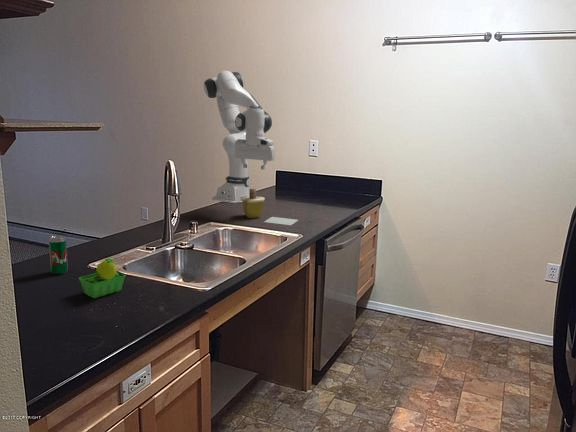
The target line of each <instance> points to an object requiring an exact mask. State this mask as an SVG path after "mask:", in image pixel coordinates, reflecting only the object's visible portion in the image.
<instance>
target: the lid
mask: <svg viewBox="0 0 576 432" xmlns="http://www.w3.org/2000/svg"><path fill="white" fill-rule="evenodd" d="M265 199H266V198H265V197H263V196H259V195H257V189H256V188H250V189H249V196H243V197H241V199H240V200H241V201H243V202H250V203H258V202H263V201H264V202H265ZM243 202H242V203H243Z"/></svg>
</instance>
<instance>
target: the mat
mask: <svg viewBox="0 0 576 432" xmlns="http://www.w3.org/2000/svg"><path fill="white" fill-rule="evenodd" d="M298 221H299V219H293V218H285V217H278V216H271V217H269V218H267V219H266V220H265V221H263V223H267V224H277V225H286V226H292V225H294V224H295V223H297V222H298Z"/></svg>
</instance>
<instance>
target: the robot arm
mask: <svg viewBox="0 0 576 432" xmlns="http://www.w3.org/2000/svg"><path fill="white" fill-rule="evenodd" d="M203 91H204V93H205V95H206V96H207V97H208V98H209V99H216V102H217V103H216V104H217V108H218V112H219V115H220V118H221V122H222V124H223V127H224V128H226V130H227V131H228V132H229V134H228V135H226V136H224V138H223V140H222V147H223V149H224V151H225V152H226V154H227V158H228V167H229V169H228V171H229V172H228V173H229V175H228V176H226V177H225V178H224V179H225V181H226V182H225V183H223V184H222V185H221V186H219V187H218V188H217V190H216V192H215V195H214V196H213V197H211V198H212V199H211V200H212V201H218V202H223V203H224V202H225V203H230V204H236V203H243V201H241V200H240V199H241V197H243V196H249V193H250V189H249V187H250V176H249V166H250V165H249V162H248V160H255V161H262V163H263V165H261V166H260V170H261V171H264V170H265V169H266V166H267V163H268V162H273V161H275V159H276V154H275V147H274V146H273V144H274V140H273V139H270V138H268V137H266V136H265V134H266V133H267V132H269V130H271V127H272V126H273V124H272V123H273V121H272V118H271V115H270V114H269V113H268V112H267V111H265V110H264V108H263V107H262V106H261V105H260V103H259V102H258V101H257V99H256V98H255V97H254V96H253V94H252V93H250V92H248V91H247V90H245V88H244V79H243V76H242V75H241V73H240V72H239V71H232V72H231V71H229V70H221V71H220V72H219V73H218V74H217V75H216V76H214V77H212V78H207V79H206V80H205V81H204V82H203ZM239 107H243V108H245V109H246V110H245V111H241V112H240V109H239Z"/></svg>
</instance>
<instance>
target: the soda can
mask: <svg viewBox="0 0 576 432" xmlns="http://www.w3.org/2000/svg"><path fill="white" fill-rule="evenodd" d="M67 247H68V246H67V239H66V238H65V236H64V235H53V236H50V237H49V240H48V249H49V260H50V261H49V263H50V273H51V274H52V275H55V276H56V275H58V276H60V275H65V274H67V272H68V271H69V266H68V265H69V264H68V250H67V249H68V248H67Z"/></svg>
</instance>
